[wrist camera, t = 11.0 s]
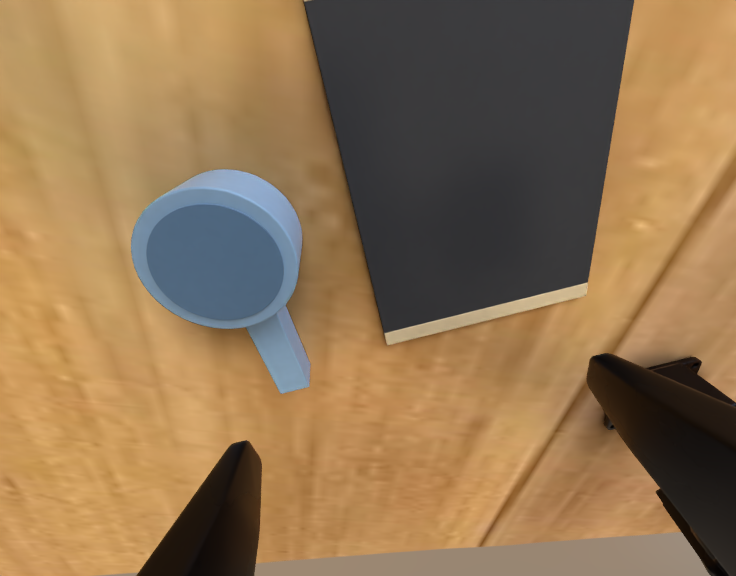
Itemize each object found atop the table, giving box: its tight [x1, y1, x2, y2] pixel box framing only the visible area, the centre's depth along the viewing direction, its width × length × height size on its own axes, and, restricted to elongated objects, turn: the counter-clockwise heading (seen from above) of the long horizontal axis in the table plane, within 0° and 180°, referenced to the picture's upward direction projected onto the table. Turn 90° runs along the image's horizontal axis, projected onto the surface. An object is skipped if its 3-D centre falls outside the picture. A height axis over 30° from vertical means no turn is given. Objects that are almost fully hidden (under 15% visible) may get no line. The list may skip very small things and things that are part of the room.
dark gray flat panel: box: [303, 0, 634, 345], centre depth 16 cm, size 18×13×1 cm
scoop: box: [131, 169, 310, 394], centre depth 16 cm, size 12×6×4 cm, turn 12°
